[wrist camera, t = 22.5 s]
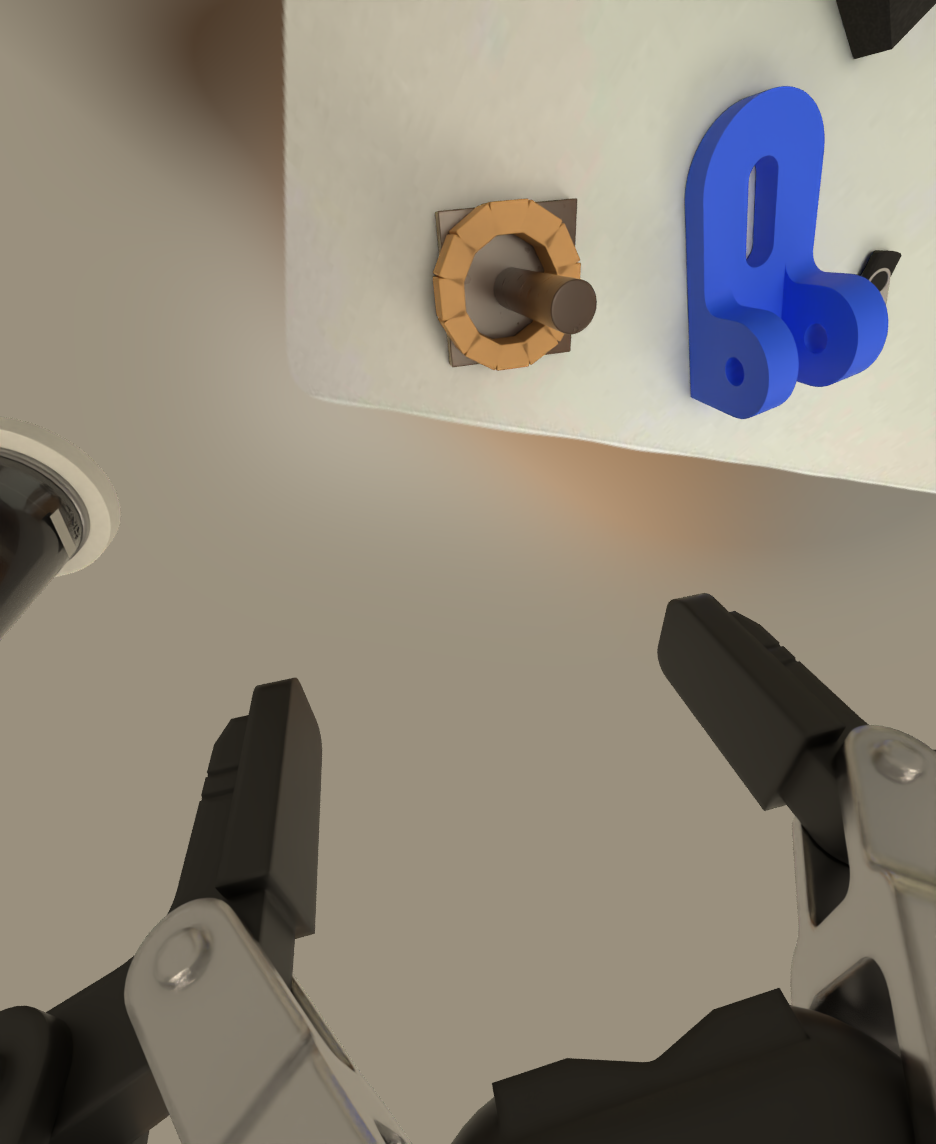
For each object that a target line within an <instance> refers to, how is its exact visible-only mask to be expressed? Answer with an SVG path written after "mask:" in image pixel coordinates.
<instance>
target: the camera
mask: <svg viewBox="0 0 936 1144" xmlns="http://www.w3.org/2000/svg"><path fill="white" fill-rule="evenodd" d="M836 1H837V4H838V8H839V11H840V14H841V17H842V21H843V24H844V27H845V31H846V34H847V37H848V41H849V44H850V47H851V51H852V54H853V57H854V59H856V58H860V57H864V56H868V55H871V54H875V53H879V52H883V51H887V50H890V49H892V48H893V47H894V46H895V45H896V44H897V43H898V42H899V41H900V40H901V39H902V38H903V37H904V36H905V35H906V34H907V33H908V32H909V31H910V30H911V29H912V28H913V27H914V26H915V24H916V23H917V22H918V21H919V20H920V19H921V18H922V17H923V16H924V15H925V14H926V13H927V12H928V11H929V10H930V9H931V8H932V7H933V6H934V5H935V4H936V0H836Z"/></svg>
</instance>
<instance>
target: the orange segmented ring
mask: <svg viewBox="0 0 936 1144" xmlns="http://www.w3.org/2000/svg"><path fill="white" fill-rule="evenodd" d="M449 233H450V235H446V238H445V241H444V244H443V246H442V249H441V252H440V255H439V258H438V260H437V263H436V266H435V269H434V271H433V273H434V274H435V275H437V276H433V286H434V296H435V305H436V315H437V316H438V317H439V318H438V320H439V322H440V323H441V325H442V326H443V328H444V329H445V331H446V332H447V334H448V336H449V337H450V339H451V340H452V342H453V343H454V345H455V346H456V348H457V349H458V350H459V351H460V352H461V353H462V354H464V355H465V356H466V357H468V358H470V359H472V360H474V361H476V362H478V363H480V364H482V365H484V366H487V367H489V368H491V369H493V370H495V369H496V370H505V369H513V368H520V367H527V366H529V364H533V363H534V362H536V361H537V360H538V359H539V358H541V357H542V356H543V355H545V354H546V353H547V352H548V351H550V350H551V349H552V348H554V347H555V346H556V345H557V344H558V342H557V340H558V341H561V339H562V337H563V335H564V333H562V332H560V331H557V330H555V329H553V328H550V327H548V326H546V325H543V324H541V323H539V322H537V321H534V320H533V322H532V323H530V324H529V325H528V326H527V327H525V328H524V329H523V330H521V331H520V332H519V333H518V334H516V335H515V336H512V337H504V338H496V339H491V338H489V337H487V336H485V335H483V334H481V333H479V332H478V330H477V329H476V327H475V325H474V324H473V322H472V320H471V319H470V317H469V316H468V314H467V312H466V303H465V289H464V281H465V279H466V276H467V273H468V271H469V268H470V266H471V263H472V261H473V258H474V255H475V254H476V253H477V252H478V251H479V250H480V249H482V248H483V247H484V246H485V245H486V244H487V243H489V242H490V241H491V240H492V239H493V238H494V237H496V236H497V235H506V234H515V235H516V236H518V237H519V238H521V239H523V240H524V241H526V242H527V243H529V244H531V245H532V246H533V247H534V249H535V251H536V253H537V256H538V258H539V260H540V262H541V264H542V266H543V268H544V273H548V274H554V275H560V276H565V277H571V278H577V279H580V267H581V263H577V262H578V261H580V258H579V256H578V253H577V251H576V249H575V246H574V244H573V242H572V239H571V237H570V235H569V232H568V230H567V228H566V225H565V223H562V220H561V219H560V218H558V217H557V216H555V215H554V214H552V213H551V212H549V211H548V210H546V209H545V208H543V207H542V206H540V205H539V204H537V203H536V202H534V201H533V200H528V199H517V200H506V201H495V202H488V203H484V204H481V205H480V206H477V207H476V208H475V209H474V210H472V211H471V212H470V213H469V214H468V215H467V216H466V217H464V218H463V219H462V220H461V221H460V222H459V223H458V224H456V225H455V226H454V227H453V228H452V229H451V230H450V231H449Z"/></svg>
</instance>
